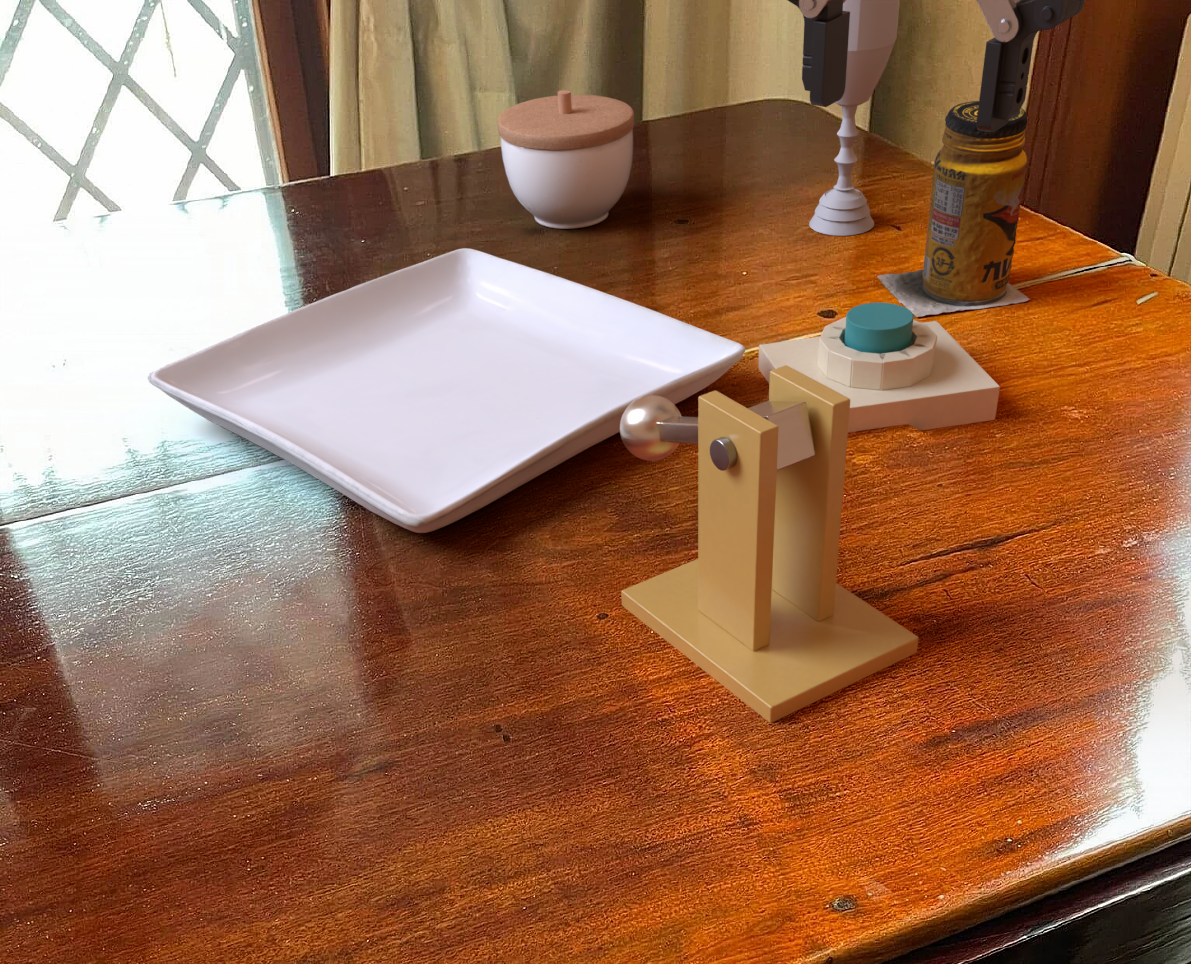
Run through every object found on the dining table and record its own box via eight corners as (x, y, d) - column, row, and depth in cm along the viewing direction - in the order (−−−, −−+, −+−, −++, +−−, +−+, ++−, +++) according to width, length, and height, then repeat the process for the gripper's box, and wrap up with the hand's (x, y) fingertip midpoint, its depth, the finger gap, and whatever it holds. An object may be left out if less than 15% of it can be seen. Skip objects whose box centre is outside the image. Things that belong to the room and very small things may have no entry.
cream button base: (932, 352, 93) (939, 293, 90) (995, 420, 85) (1004, 357, 83) (757, 376, 91) (759, 317, 89) (805, 447, 84) (809, 385, 81)
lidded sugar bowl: (651, 229, 112) (648, 103, 105) (519, 247, 110) (509, 120, 104) (619, 186, 120) (614, 66, 113) (495, 202, 118) (484, 81, 112)
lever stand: (621, 614, 72) (611, 379, 63) (759, 556, 75) (767, 325, 67) (769, 733, 64) (781, 483, 56) (916, 662, 68) (948, 416, 59)
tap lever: (616, 467, 72) (601, 405, 71) (666, 448, 73) (653, 387, 72) (770, 483, 61) (756, 410, 60) (826, 461, 62) (814, 389, 61)
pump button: (896, 326, 88) (899, 298, 86) (920, 352, 85) (923, 324, 84) (835, 334, 87) (837, 307, 86) (857, 361, 84) (859, 333, 83)
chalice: (834, 247, 107) (851, -20, 95) (777, 223, 111) (787, -35, 99) (906, 224, 110) (932, -38, 98) (848, 201, 114) (866, -52, 102)
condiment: (1030, 302, 98) (1059, 119, 90) (916, 319, 97) (935, 135, 89) (984, 264, 103) (1008, 88, 95) (876, 280, 102) (891, 103, 94)
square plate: (152, 426, 90) (136, 368, 88) (471, 292, 104) (465, 239, 101) (423, 577, 75) (413, 513, 73) (753, 397, 89) (754, 338, 87)
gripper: (1164, -342, 53) (1086, 114, 64) (834, -337, 60) (814, 74, 71) (1086, -323, 49) (1016, 162, 60) (740, -320, 56) (733, 115, 67)
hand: (907, 114), depth 65 cm, fingers open, 8 cm apart
